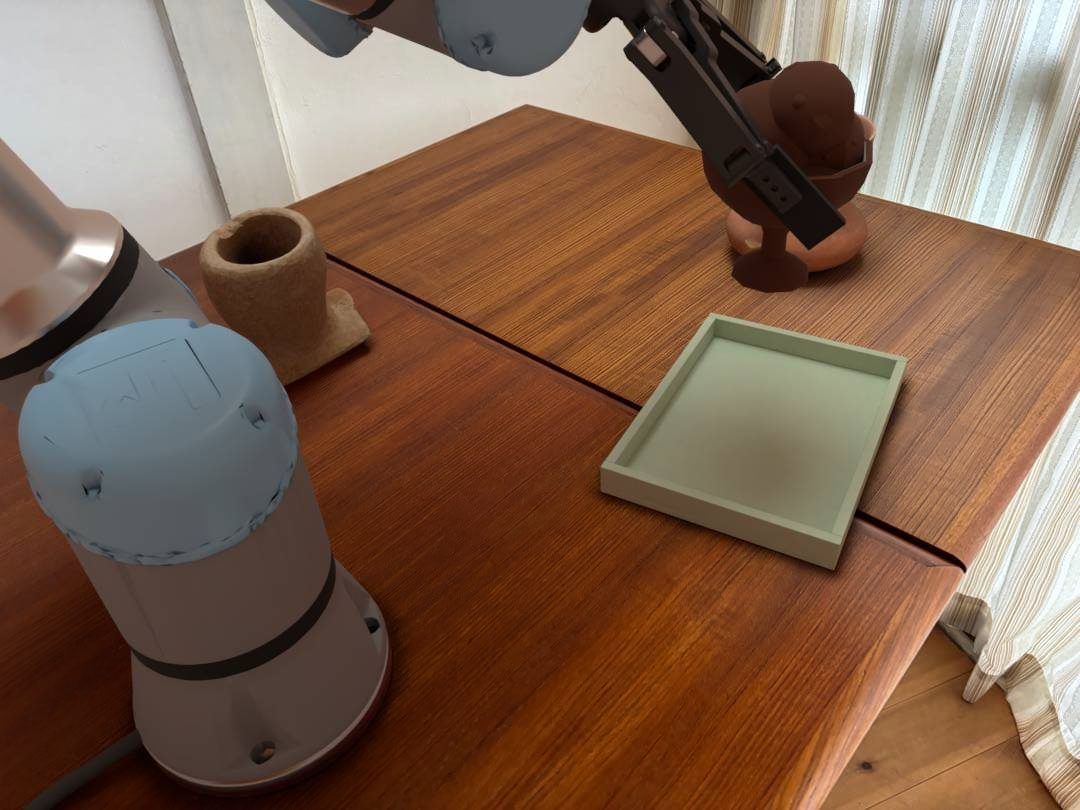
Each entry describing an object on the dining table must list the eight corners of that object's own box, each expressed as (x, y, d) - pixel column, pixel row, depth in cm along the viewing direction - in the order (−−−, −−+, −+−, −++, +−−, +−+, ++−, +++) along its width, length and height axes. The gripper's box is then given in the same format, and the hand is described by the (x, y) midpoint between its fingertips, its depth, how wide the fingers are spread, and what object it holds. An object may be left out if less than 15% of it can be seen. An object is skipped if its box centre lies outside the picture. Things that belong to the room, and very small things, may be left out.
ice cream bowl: (848, 244, 64) (889, 34, 54) (844, 323, 56) (892, 92, 46) (707, 231, 67) (723, 30, 57) (683, 305, 58) (697, 83, 49)
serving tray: (833, 570, 57) (840, 545, 56) (600, 491, 65) (600, 466, 63) (902, 382, 73) (908, 357, 72) (708, 335, 81) (710, 312, 79)
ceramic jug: (793, 307, 84) (814, 170, 75) (688, 255, 93) (696, 128, 84) (903, 247, 92) (933, 117, 83) (796, 205, 101) (813, 84, 92)
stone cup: (263, 424, 73) (212, 272, 64) (203, 369, 81) (149, 225, 71) (405, 350, 81) (378, 205, 72) (338, 306, 88) (306, 169, 79)
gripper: (604, -78, 39) (891, 242, 46) (657, -142, 57) (857, 95, 63) (502, 42, 43) (777, 319, 50) (581, -52, 61) (776, 161, 68)
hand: (822, 194), depth 57 cm, fingers closed on ice cream bowl, 11 cm apart
